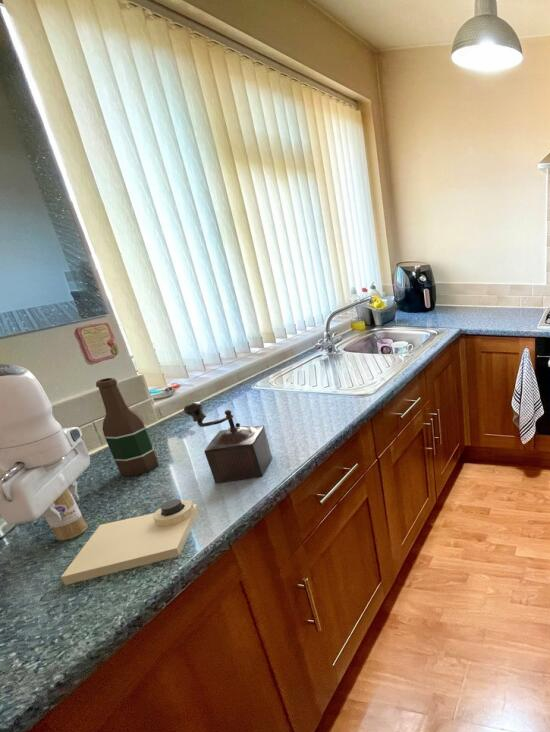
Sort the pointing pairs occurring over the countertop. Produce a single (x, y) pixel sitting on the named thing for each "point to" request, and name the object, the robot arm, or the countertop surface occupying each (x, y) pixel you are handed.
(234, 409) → the countertop surface
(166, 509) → the button
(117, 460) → the beer bottle
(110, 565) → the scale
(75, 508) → the sprinkles bottle
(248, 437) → the manual coffee grinder
